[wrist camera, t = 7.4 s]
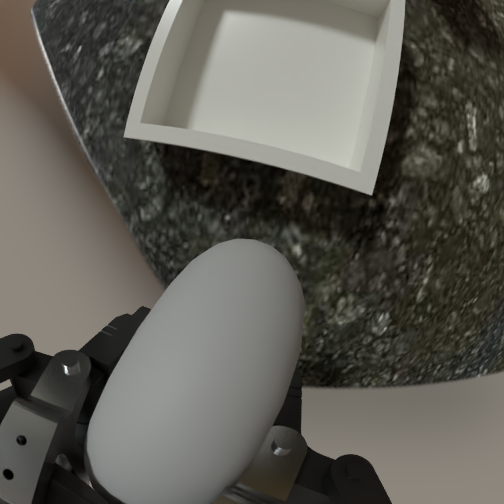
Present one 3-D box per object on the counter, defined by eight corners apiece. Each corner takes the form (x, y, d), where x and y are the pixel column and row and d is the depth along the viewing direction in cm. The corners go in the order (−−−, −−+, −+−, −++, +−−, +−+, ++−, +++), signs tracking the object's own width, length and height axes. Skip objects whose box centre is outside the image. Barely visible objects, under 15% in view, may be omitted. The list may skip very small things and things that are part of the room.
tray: (388, 19, 16) (405, -6, 12) (354, 190, 22) (371, 195, 17) (206, -15, 17) (191, -42, 13) (153, 142, 23) (123, 136, 18)
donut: (241, 197, 11) (42, 324, 2) (315, 240, 11) (387, 480, 2) (158, 361, 14) (68, 503, 5) (212, 390, 14) (155, 547, 5)
